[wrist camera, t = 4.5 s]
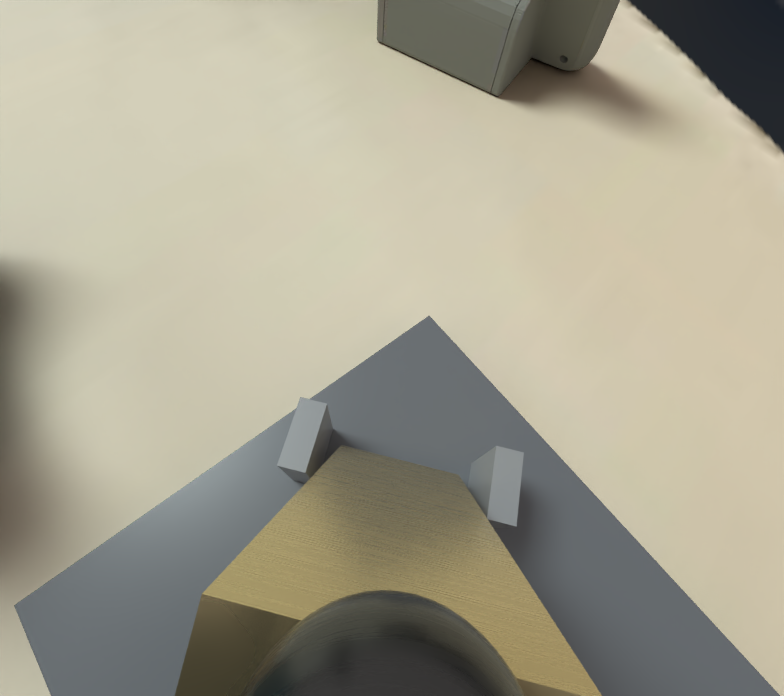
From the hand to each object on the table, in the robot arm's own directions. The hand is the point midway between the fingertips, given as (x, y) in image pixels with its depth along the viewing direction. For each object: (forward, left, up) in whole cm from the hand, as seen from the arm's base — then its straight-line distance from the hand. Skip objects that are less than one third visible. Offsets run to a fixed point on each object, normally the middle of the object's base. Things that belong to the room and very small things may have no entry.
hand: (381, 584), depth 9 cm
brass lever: (+2, +2, -5) cm, 6 cm away
